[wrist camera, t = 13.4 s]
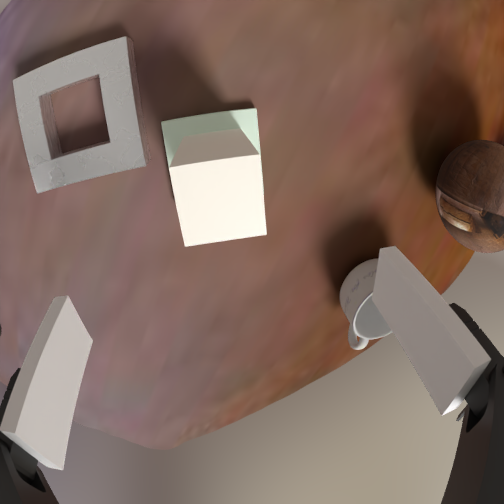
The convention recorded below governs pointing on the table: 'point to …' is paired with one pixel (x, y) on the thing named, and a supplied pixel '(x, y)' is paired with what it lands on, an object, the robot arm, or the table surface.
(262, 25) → the table surface
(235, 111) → the pad
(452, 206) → the bronze metal ball
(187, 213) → the peg
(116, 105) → the socket plate
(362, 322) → the teacup
